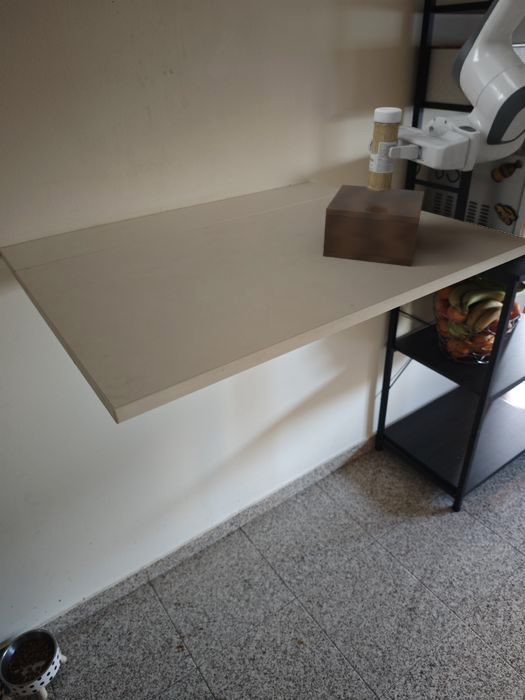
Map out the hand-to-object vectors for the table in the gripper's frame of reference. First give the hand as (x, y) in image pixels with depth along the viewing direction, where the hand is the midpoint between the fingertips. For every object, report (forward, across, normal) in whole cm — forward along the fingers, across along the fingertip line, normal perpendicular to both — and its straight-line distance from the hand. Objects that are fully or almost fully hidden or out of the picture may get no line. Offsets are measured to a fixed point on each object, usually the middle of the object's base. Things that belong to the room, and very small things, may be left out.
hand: (379, 149), depth 87 cm
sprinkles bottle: (-1, 0, +7) cm, 7 cm away
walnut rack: (-1, 0, +18) cm, 18 cm away
